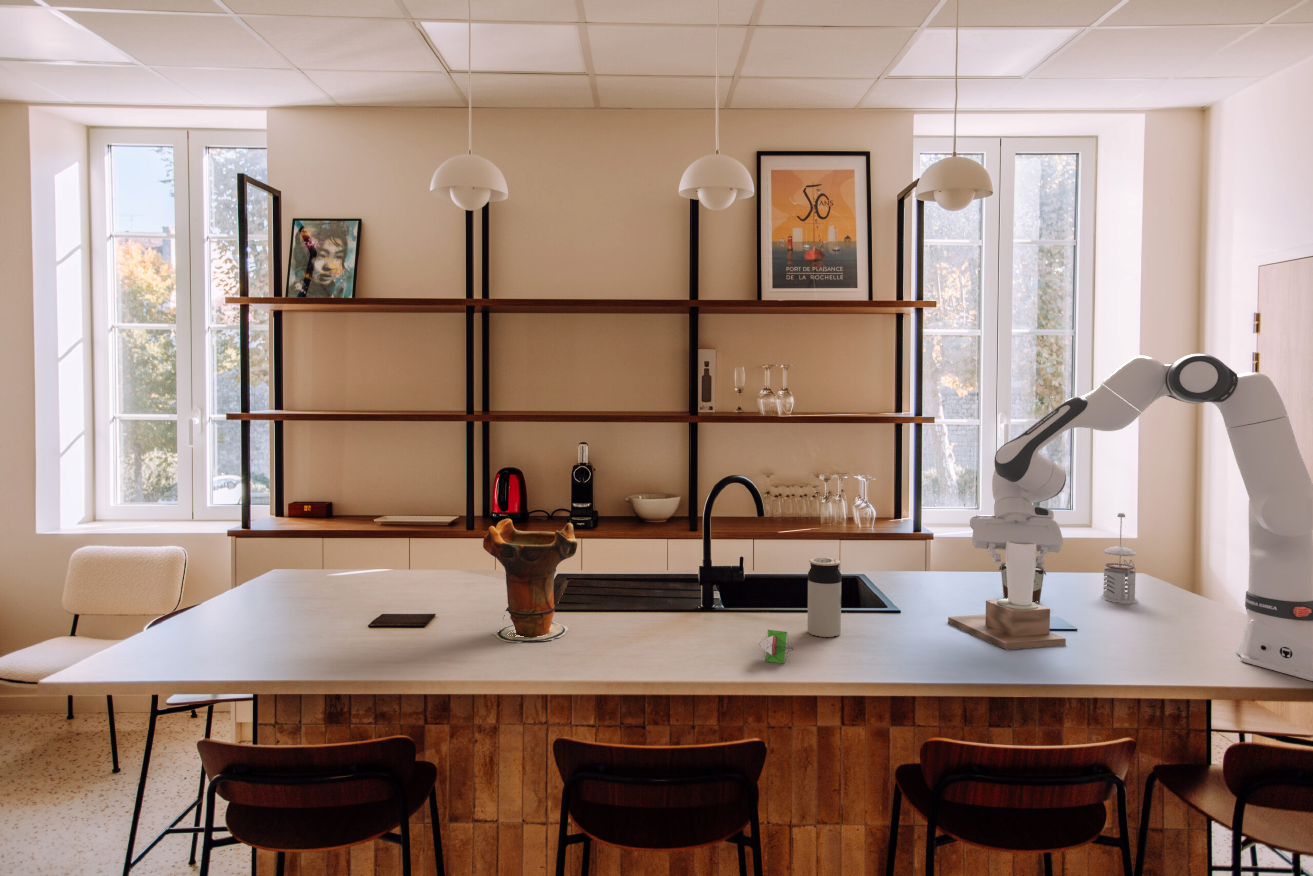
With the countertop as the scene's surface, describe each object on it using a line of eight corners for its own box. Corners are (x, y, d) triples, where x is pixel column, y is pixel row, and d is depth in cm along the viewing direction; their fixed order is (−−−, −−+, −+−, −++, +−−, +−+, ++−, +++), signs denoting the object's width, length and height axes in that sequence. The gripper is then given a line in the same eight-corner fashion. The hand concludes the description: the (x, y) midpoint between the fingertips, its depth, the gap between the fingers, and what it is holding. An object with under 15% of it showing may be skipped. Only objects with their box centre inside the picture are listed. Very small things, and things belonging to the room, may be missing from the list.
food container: (1047, 598, 217) (1048, 564, 217) (1045, 603, 212) (1046, 568, 212) (1001, 593, 224) (1001, 559, 223) (998, 597, 219) (998, 563, 218)
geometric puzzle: (766, 642, 171) (761, 620, 166) (796, 645, 168) (792, 623, 163) (760, 669, 166) (754, 647, 161) (791, 673, 163) (786, 651, 158)
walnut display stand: (1065, 644, 175) (1066, 611, 175) (1006, 649, 172) (1006, 616, 171) (1002, 618, 197) (1002, 589, 196) (948, 622, 193) (948, 592, 193)
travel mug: (805, 636, 182) (805, 562, 181) (810, 627, 190) (810, 556, 189) (838, 639, 179) (839, 565, 179) (842, 630, 187) (843, 558, 186)
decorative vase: (581, 642, 176) (574, 523, 174) (481, 650, 174) (474, 530, 173) (583, 617, 196) (577, 511, 195) (494, 624, 195) (488, 517, 194)
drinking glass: (1039, 607, 178) (1040, 545, 178) (1008, 606, 180) (1009, 543, 179) (1031, 600, 185) (1032, 540, 184) (1001, 599, 186) (1002, 539, 186)
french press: (1128, 595, 221) (1130, 510, 220) (1149, 605, 210) (1152, 516, 209) (1092, 594, 222) (1095, 510, 221) (1112, 604, 211) (1115, 516, 210)
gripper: (970, 507, 191) (973, 552, 182) (1060, 511, 185) (1067, 558, 176) (968, 522, 196) (971, 567, 187) (1056, 526, 189) (1063, 573, 181)
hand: (1018, 563), depth 181 cm, fingers open, 8 cm apart
